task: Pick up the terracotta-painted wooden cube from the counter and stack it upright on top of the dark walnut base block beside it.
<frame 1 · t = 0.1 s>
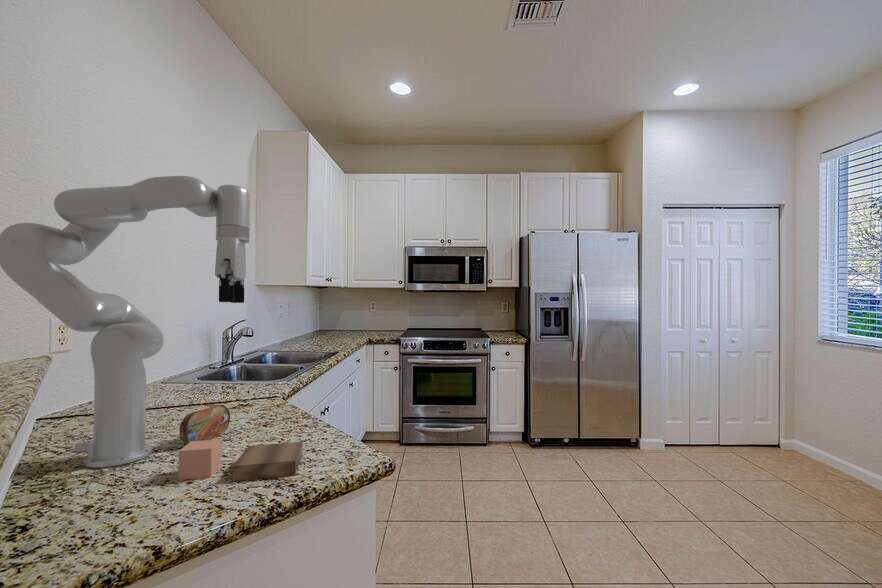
hand: (232, 302, 99), 37 cm above the countertop, tool pointing down, fingers open, 9 cm apart
base: (270, 466, 86), on the countertop
tin: (205, 440, 105), on the countertop
cube: (200, 473, 83), on the countertop
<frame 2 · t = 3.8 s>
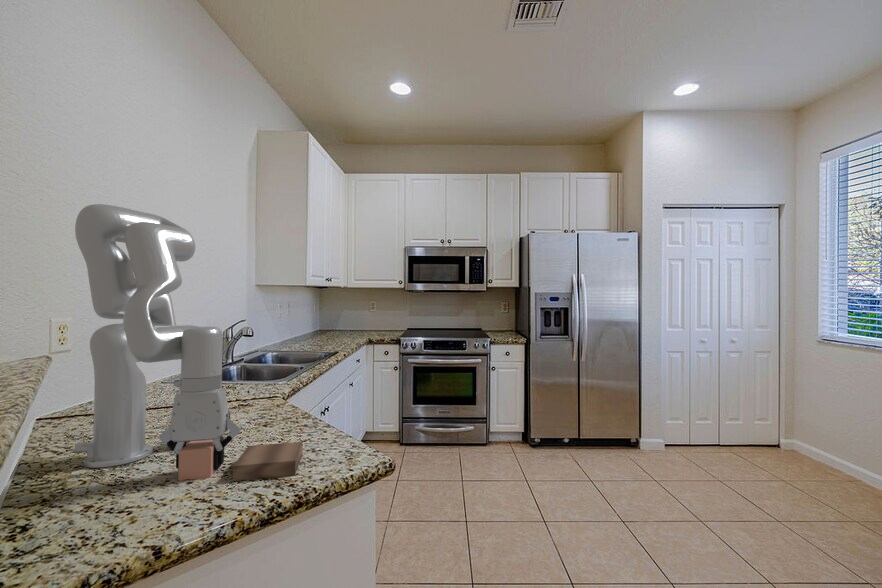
hand: (200, 468, 83), 1 cm above the countertop, tool pointing down, fingers closed on cube, 6 cm apart
cube: (200, 473, 83), on the countertop, touching gripper
everything else where it was.
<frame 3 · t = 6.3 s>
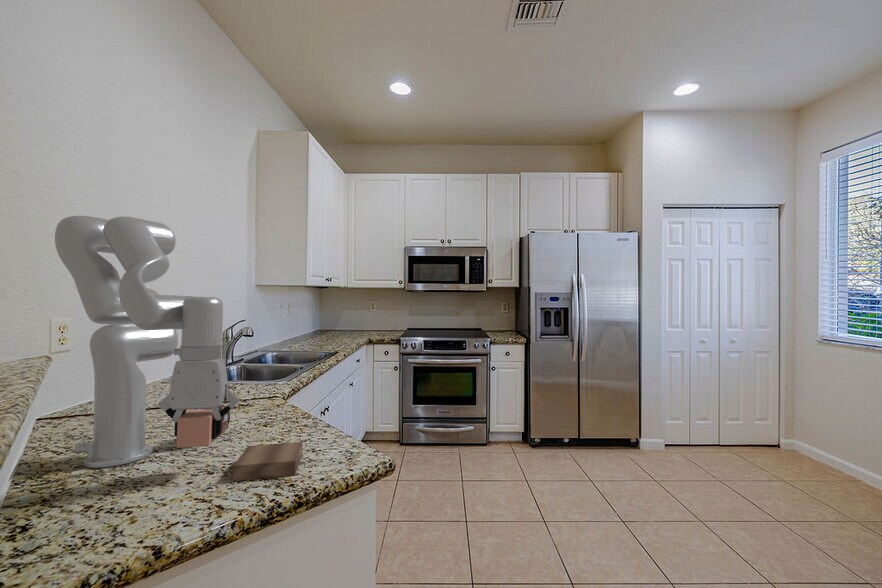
hand: (198, 437, 84), 7 cm above the countertop, tool pointing down, fingers closed on cube, 6 cm apart
cube: (198, 441, 84), point 6 cm above the countertop, touching gripper
everything else where it was.
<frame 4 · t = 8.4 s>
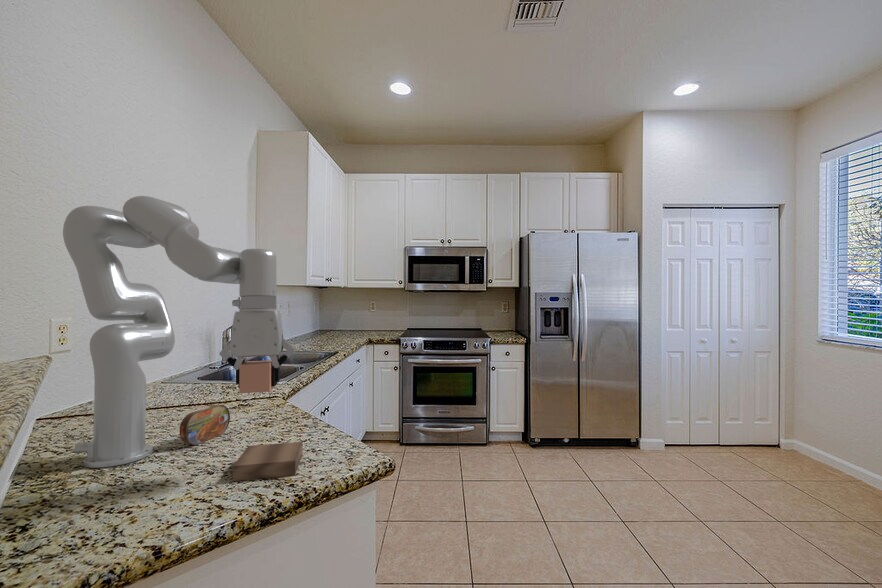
hand: (258, 385, 86), 18 cm above the countertop, tool pointing down, fingers closed on cube, 6 cm apart
cube: (258, 389, 86), point 17 cm above the countertop, touching gripper
everything else where it was.
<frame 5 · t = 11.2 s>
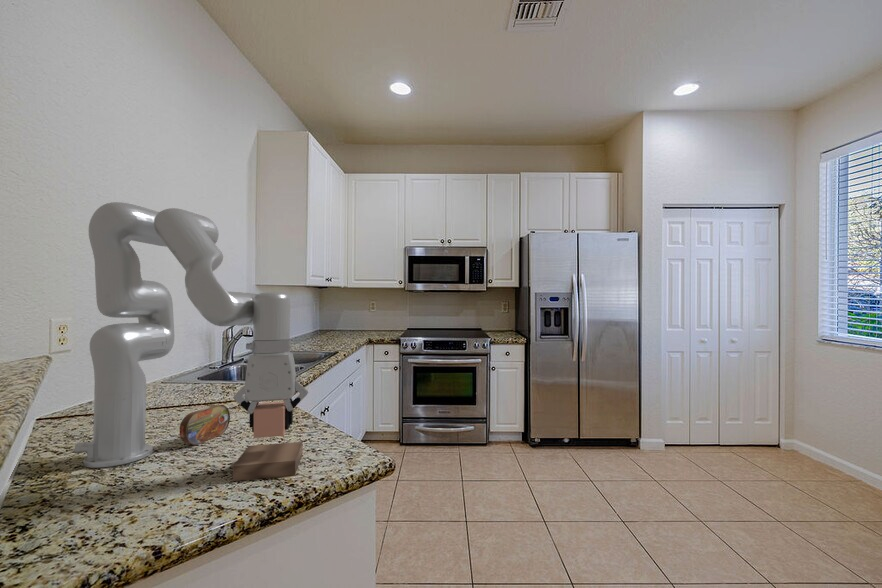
hand: (271, 428, 87), 8 cm above the countertop, tool pointing down, fingers closed on cube, 6 cm apart
cube: (271, 432, 86), point 7 cm above the countertop, touching gripper
everything else where it was.
when the fingers open (5 cm above the countertop, at t = 13.3 s): cube stays where it is, resting on base.
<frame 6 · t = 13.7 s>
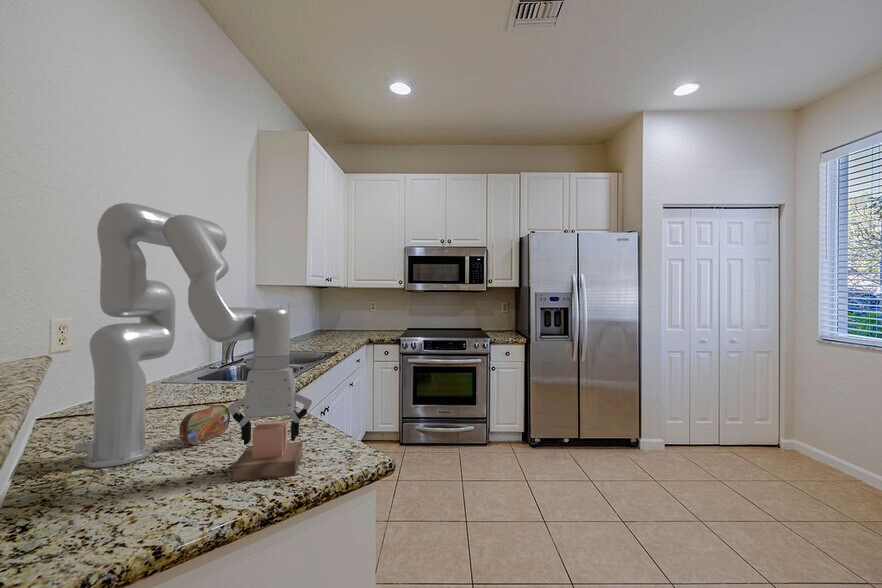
hand: (270, 440, 86), 6 cm above the countertop, tool pointing down, fingers open, 9 cm apart
cube: (270, 452, 86), point 3 cm above the countertop, touching base
everything else where it was.
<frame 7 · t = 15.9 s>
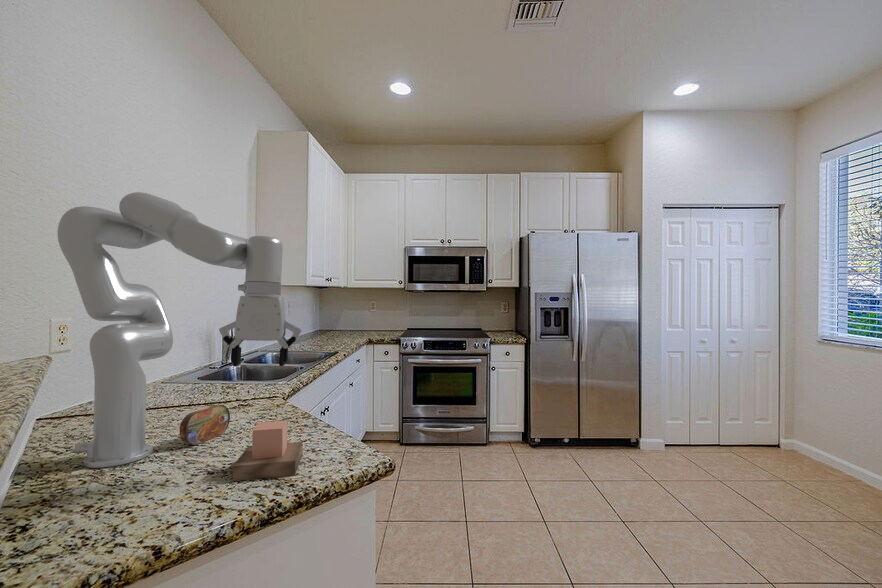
hand: (259, 365, 89), 22 cm above the countertop, tool pointing down, fingers open, 9 cm apart
nothing on the countertop moved.
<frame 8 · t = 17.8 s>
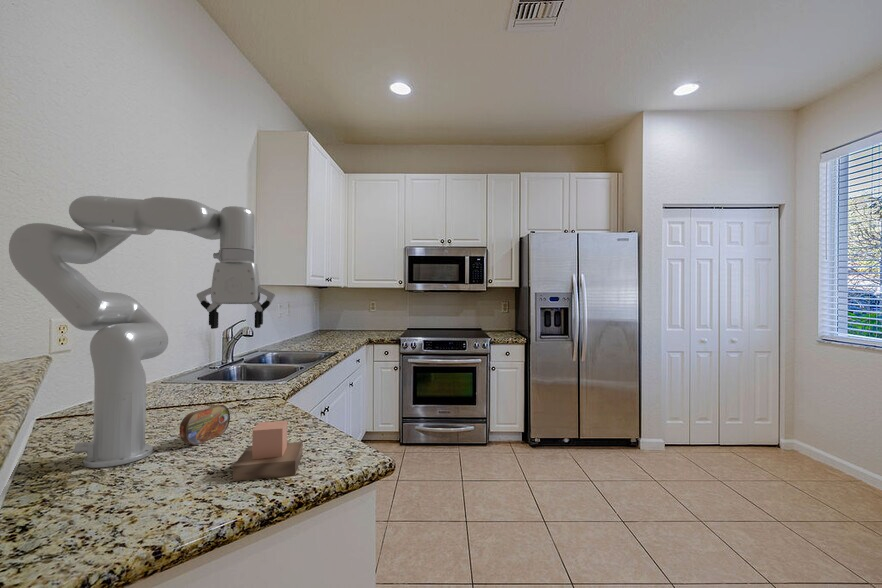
hand: (236, 328, 95), 30 cm above the countertop, tool pointing down, fingers open, 9 cm apart
nothing on the countertop moved.
at the end: cube 0.1 cm off-centre on the base, point 3.0 cm above the base's base; cube tilted 0°; cube touching base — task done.
